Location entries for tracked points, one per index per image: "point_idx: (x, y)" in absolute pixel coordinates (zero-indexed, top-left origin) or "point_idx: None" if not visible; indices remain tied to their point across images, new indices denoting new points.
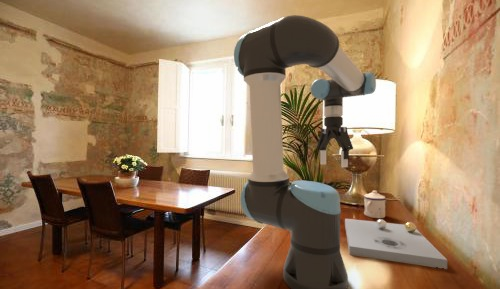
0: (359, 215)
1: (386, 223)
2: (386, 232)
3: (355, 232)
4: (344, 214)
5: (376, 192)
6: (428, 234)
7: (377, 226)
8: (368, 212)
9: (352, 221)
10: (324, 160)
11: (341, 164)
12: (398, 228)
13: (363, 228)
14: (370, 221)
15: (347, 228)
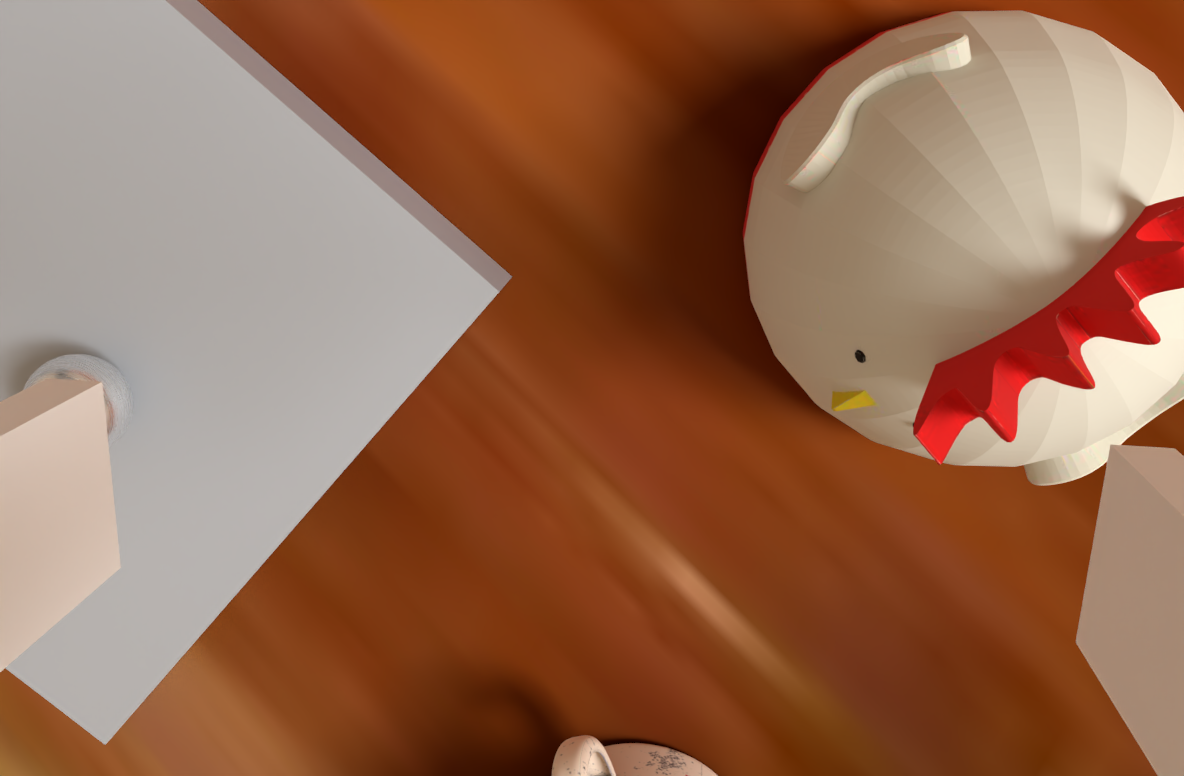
0: (712, 691)
1: None
2: (7, 342)
3: (71, 28)
4: (819, 564)
5: None
6: (65, 769)
7: (103, 360)
8: (626, 768)
9: (377, 289)
10: (1140, 647)
11: (43, 408)
12: None
13: (154, 217)
14: (316, 480)
15: (197, 40)
